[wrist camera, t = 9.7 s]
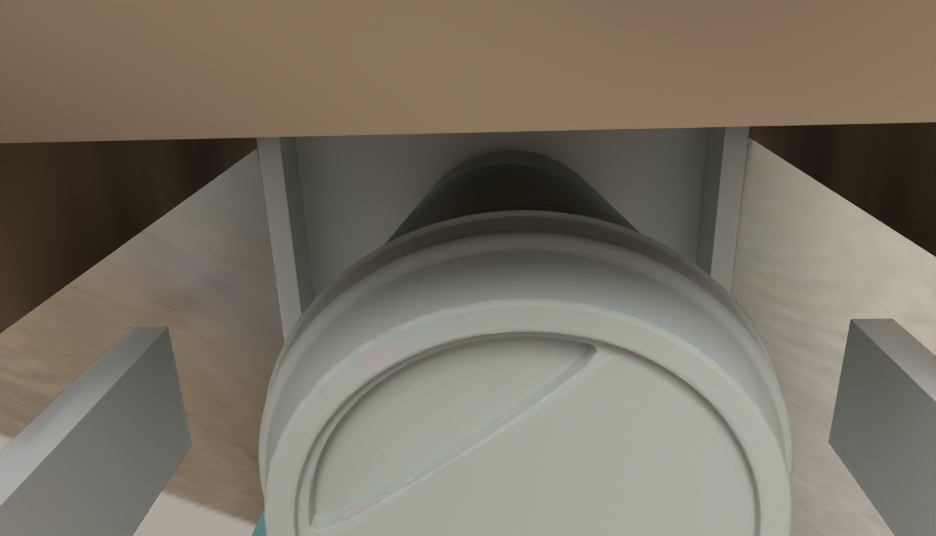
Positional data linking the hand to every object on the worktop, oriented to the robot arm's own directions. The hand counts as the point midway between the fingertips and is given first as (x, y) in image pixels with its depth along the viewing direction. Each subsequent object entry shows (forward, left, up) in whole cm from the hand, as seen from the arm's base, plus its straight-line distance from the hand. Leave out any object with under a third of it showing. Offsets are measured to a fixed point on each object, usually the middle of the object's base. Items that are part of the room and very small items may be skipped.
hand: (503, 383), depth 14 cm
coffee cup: (0, 0, -8) cm, 8 cm away
